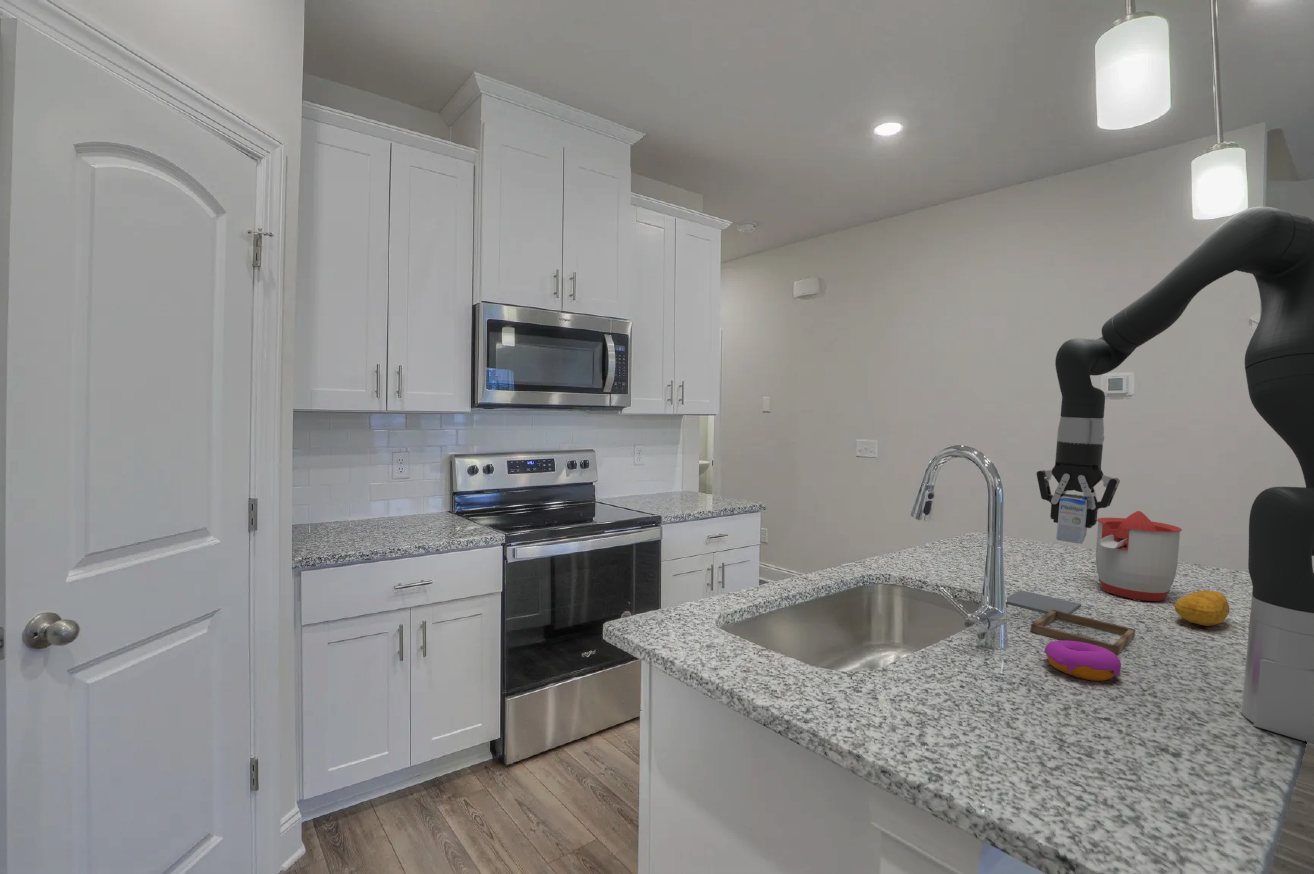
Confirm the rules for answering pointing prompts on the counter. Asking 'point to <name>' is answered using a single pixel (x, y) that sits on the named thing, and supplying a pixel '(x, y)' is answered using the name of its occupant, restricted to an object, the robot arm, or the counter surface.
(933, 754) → the counter surface
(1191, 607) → the potato
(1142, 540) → the citrus juicer
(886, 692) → the counter surface
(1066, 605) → the slate mat
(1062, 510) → the medicine box
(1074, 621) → the walnut cradle
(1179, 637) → the counter surface
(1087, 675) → the donut
